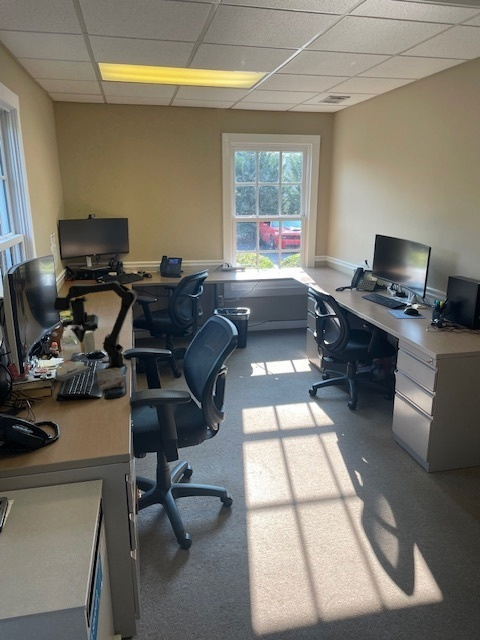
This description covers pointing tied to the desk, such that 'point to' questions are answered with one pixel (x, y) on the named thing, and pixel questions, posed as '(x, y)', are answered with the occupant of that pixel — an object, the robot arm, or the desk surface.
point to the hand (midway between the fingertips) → (81, 342)
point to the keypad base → (72, 373)
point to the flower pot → (95, 318)
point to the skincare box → (88, 343)
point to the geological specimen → (110, 378)
